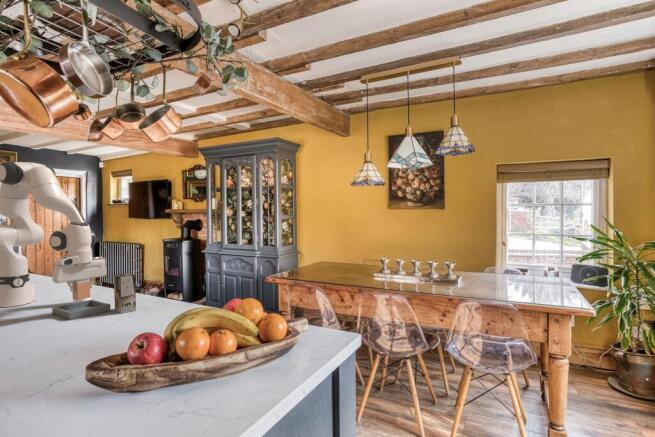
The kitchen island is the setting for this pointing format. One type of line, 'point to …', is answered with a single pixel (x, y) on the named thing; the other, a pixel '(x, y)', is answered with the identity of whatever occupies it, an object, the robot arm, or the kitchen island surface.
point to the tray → (80, 309)
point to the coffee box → (125, 292)
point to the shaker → (81, 289)
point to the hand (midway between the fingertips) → (81, 289)
